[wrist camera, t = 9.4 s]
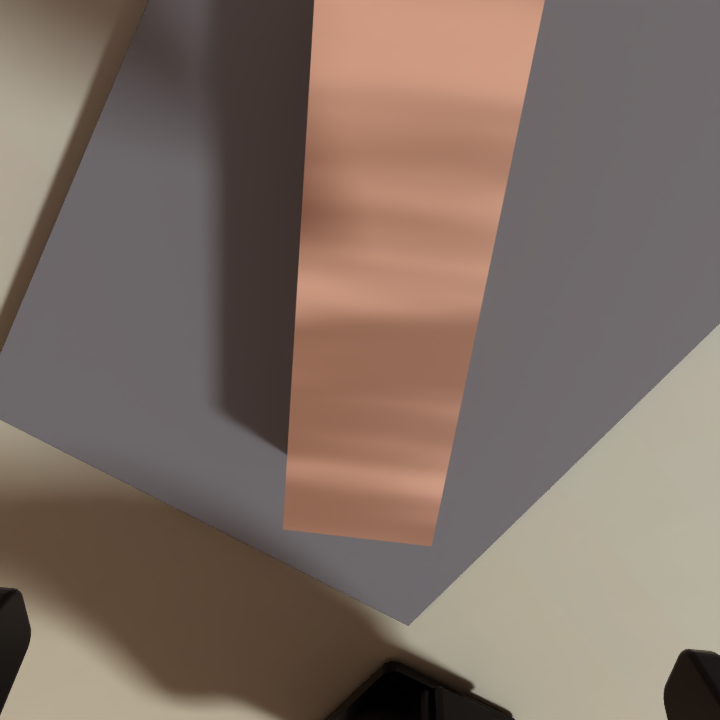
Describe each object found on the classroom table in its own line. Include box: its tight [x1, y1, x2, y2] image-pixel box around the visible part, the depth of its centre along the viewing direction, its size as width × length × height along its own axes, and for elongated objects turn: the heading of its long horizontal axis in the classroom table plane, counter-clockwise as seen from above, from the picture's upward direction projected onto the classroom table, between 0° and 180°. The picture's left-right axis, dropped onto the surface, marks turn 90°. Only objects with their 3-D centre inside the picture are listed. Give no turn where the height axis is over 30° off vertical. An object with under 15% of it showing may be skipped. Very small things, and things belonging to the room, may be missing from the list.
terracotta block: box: [283, 0, 545, 546], centre depth 15 cm, size 3×4×13 cm
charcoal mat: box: [0, 0, 720, 626], centre depth 17 cm, size 20×16×1 cm
